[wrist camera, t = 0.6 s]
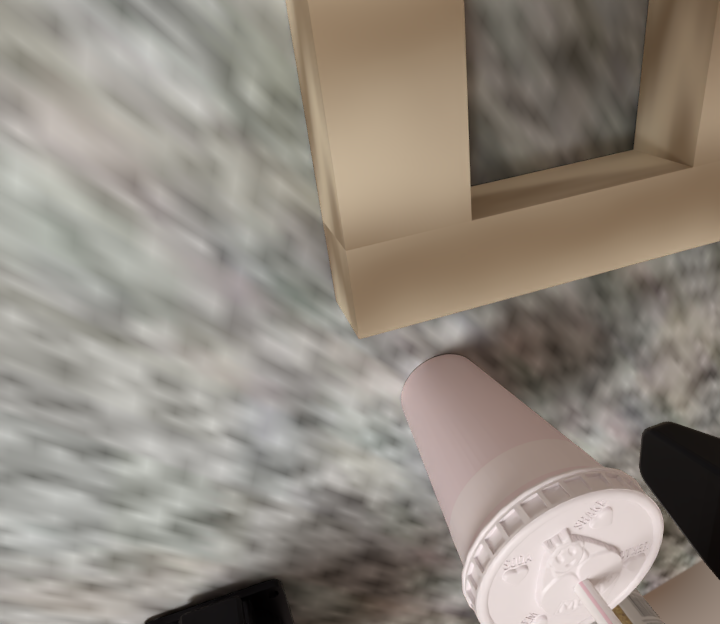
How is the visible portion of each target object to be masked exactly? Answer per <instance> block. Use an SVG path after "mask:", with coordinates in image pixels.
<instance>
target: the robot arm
mask: <svg viewBox="0 0 720 624" xmlns="http://www.w3.org/2000/svg"><path fill="white" fill-rule="evenodd" d="M639 468H640V473H641V475H642V478H643V479H644V481H645V483H646V484H647V485H648V487H649V488H650V490H651V491H652V492H653V494H654V495H655V496H656V498H657V499H658V500H659V502H660V503H661V504H662V506H663V507H664V509H665V510H666V511H667V513H668V514H669V515H670V517H671V518H672V519H673V521H674V522H675V523H676V525H677V526H678V528H679V529H680V530H681V532H682V533H683V534H684V536H685V537H686V538H687V540H688V541H689V542H690V544H691V545H692V547H693V548H694V549H695V551H696V552H697V553H698V554H699V556H700V557H701V558H702V560H703V561H704V562H705V563H706V565H707V566H708V567H709V568H710V569H711V570H712V572H713V573H714V574H715V575H716V576H717V577H718V579H719V580H720V438H718V437H715V436H712V435H709V434H706V433H703V432H700V431H697V430H694V429H691V428H688V427H685V426H682V425H679V424H676V423H673V422H662V423H659V424H657V425H654V426H651V427H649V428H647V429H645V430H644V432H643V433H642V439H641V450H640V461H639ZM146 624H294V621H293V618H292V615H291V611H290V608H289V605H288V601H287V598H286V595H285V592H284V588H283V585H282V583H281V581H279V580H274V579H273V580H269V581H266V582H263V583H260V584H257V585H255V586H252V587H249V588H246V589H243V590H240V591H237V592H234V593H231V594H229V595H226V596H223V597H220V598H217V599H214V600H211V601H208V602H205V603H203V604H200V605H197V606H194V607H191V608H188V609H185V610H182V611H179V612H177V613H174V614H171V615H168V616H165V617H162V618H159V619H156V620H154V621H151V622H148V623H146Z"/></svg>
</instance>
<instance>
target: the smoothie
mask: <svg viewBox="0 0 720 624" xmlns="http://www.w3.org/2000/svg"><path fill="white" fill-rule="evenodd" d="M401 404H402V408H403V411H404V414H405V416H406V419H407V421H408V424H409V427H410V429H411V432H412V434H413V437H414V440H415V442H416V445H417V447H418V450H419V453H420V455H421V458H422V460H423V463H424V466H425V468H426V471H427V473H428V476H429V479H430V481H431V484H432V486H433V489H434V492H435V494H436V497H437V499H438V502H439V505H440V507H441V510H442V512H443V515H444V518H445V520H446V523H447V525H448V528H449V531H450V533H451V536H452V539H453V542H454V544H455V547H456V549H457V552H458V554H459V557H460V559H461V562H462V564H463V566H464V567H463V570H462V592H463V594H464V596H465V598H466V600H467V602H468V604H469V606H470V607H471V608H472V609H473V610H474V612H475V614H476V616H477V618H478V620H479V622H480V624H591V623H593V622H594V621H596V622H597V624H622V623H621V622H620V620H619V619H618V618H617V616H616V615H615V614H614V612H613V611H612V609H613V608H615V607H616V606H617V605H618V604H619V603H620V602H622V601H623V600H624V599H625V598H626V597H627V596H628V595H629V594H630V593H631V592H632V591H633V590H634V589H635V588H636V587H637V585H638V584H639V583H640V582H641V581H642V579H643V578H644V577H645V575H646V574H647V572H648V571H649V570H650V568H651V566H652V564H653V562H654V561H655V559H656V557H657V555H658V552H659V549H660V546H661V543H662V539H663V530H664V524H663V517H662V513H661V511H660V509H659V507H658V506H657V504H656V503H655V502H654V501H653V500H652V499H651V498H650V497H649V496H648V495H646V494H645V493H644V491H643V490H642V488H641V487H640V485H639V484H638V482H637V481H636V479H635V478H633V477H631V476H629V475H628V474H626V473H624V472H623V471H621V470H618V469H613V468H607V467H603V466H602V465H600V464H599V463H598V462H597V461H596V460H594V459H593V458H592V457H591V456H590V455H588V454H587V453H586V452H585V451H584V450H582V449H581V448H580V447H578V446H577V445H575V444H574V443H573V442H572V441H570V440H569V439H568V438H567V437H565V436H564V435H563V434H562V433H560V432H559V431H558V430H557V429H555V428H554V427H553V426H552V425H550V424H549V423H548V422H547V421H545V420H544V419H543V418H542V417H540V416H539V415H538V414H537V413H535V412H534V411H533V410H532V409H530V408H529V407H528V406H527V405H525V404H524V403H523V402H522V401H520V400H519V399H518V398H517V397H515V396H514V395H513V394H512V393H510V392H509V391H508V390H507V389H505V388H504V387H503V386H502V385H500V384H499V383H498V382H497V381H495V380H494V379H493V378H492V377H490V376H489V375H488V374H487V373H485V372H484V371H483V370H482V369H480V368H479V367H478V366H476V365H475V364H474V363H473V362H471V361H470V360H469V359H467V358H465V357H463V356H460V355H455V354H446V355H440V356H437V357H434V358H431V359H429V360H427V361H426V362H424V363H423V364H421V365H420V366H419V367H417V368H416V369H415V370H414V371H413V372H412V373H411V375H410V376H409V377H408V379H407V381H406V382H405V384H404V387H403V390H402V394H401Z"/></svg>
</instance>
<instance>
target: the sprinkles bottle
mask: <svg viewBox="0 0 720 624" xmlns="http://www.w3.org/2000/svg"><path fill="white" fill-rule="evenodd" d="M612 611H613V612H614V614H615V615H616V616H617V618H618V619H619V620H620V622H621V623H622V624H665V623H664V622H663V621H662V620H661V619H660V617H659V616H658V615H657V614H656V612H655V611H654V610H653V609H652V607H651V606H650V605H649V604H648V603H647V601H646V600H645V599H644V598H643V596H642V595H641V594H640V593H639V592H638V590H637V589H636V588H635V589H634V590H633V591H632V592H631V593H630V594H629V595H628V596H627V597H626V598H625V599H624V600H623V601H622V602H620V603H619V604H618V605H617V606H616V607H615V608H613V609H612ZM591 624H597V622H596V621H594V622H593V623H591Z"/></svg>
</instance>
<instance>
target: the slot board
mask: <svg viewBox="0 0 720 624" xmlns="http://www.w3.org/2000/svg"><path fill="white" fill-rule="evenodd" d="M286 6H287V12H288V18H289V24H290V30H291V36H292V42H293V48H294V54H295V60H296V66H297V72H298V77H299V83H300V89H301V95H302V101H303V107H304V113H305V119H306V125H307V131H308V137H309V143H310V149H311V155H312V161H313V166H314V172H315V178H316V184H317V190H318V196H319V202H320V208H321V214H322V220H323V226H324V232H325V238H326V244H327V250H328V255H329V261H330V267H331V273H332V279H333V285H334V291H335V297H336V301H337V303H338V305H339V306H340V308H341V310H342V311H343V313H344V315H345V316H346V318H347V320H348V321H349V323H350V325H351V326H352V328H353V330H354V331H355V333H356V335H357V336H358V338H359V339H362V338H366V337H369V336H373V335H377V334H380V333H384V332H388V331H391V330H395V329H399V328H402V327H406V326H410V325H413V324H417V323H421V322H424V321H428V320H432V319H435V318H439V317H443V316H446V315H450V314H454V313H457V312H461V311H465V310H468V309H472V308H476V307H479V306H483V305H487V304H490V303H494V302H498V301H501V300H505V299H509V298H512V297H516V296H520V295H523V294H527V293H531V292H534V291H538V290H542V289H545V288H549V287H553V286H556V285H560V284H564V283H567V282H571V281H575V280H578V279H582V278H586V277H589V276H593V275H597V274H600V273H604V272H608V271H611V270H615V269H619V268H622V267H626V266H630V265H633V264H637V263H641V262H644V261H648V260H652V259H655V258H659V257H663V256H666V255H670V254H674V253H677V252H681V251H685V250H688V249H692V248H696V247H699V246H703V245H707V244H710V243H714V242H718V241H720V0H649V4H648V14H647V24H646V33H645V43H644V53H643V62H642V72H641V82H640V91H639V101H638V111H637V120H636V130H635V140H634V149H633V150H629V151H625V152H621V153H616V154H612V155H608V156H603V157H599V158H594V159H590V160H586V161H581V162H577V163H573V164H568V165H564V166H559V167H555V168H551V169H546V170H542V171H538V172H533V173H529V174H524V175H520V176H516V177H511V178H507V179H502V180H498V181H494V182H489V183H485V184H481V185H476V186H472V187H471V185H470V156H469V128H468V99H467V70H466V42H465V13H464V0H286Z"/></svg>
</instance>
